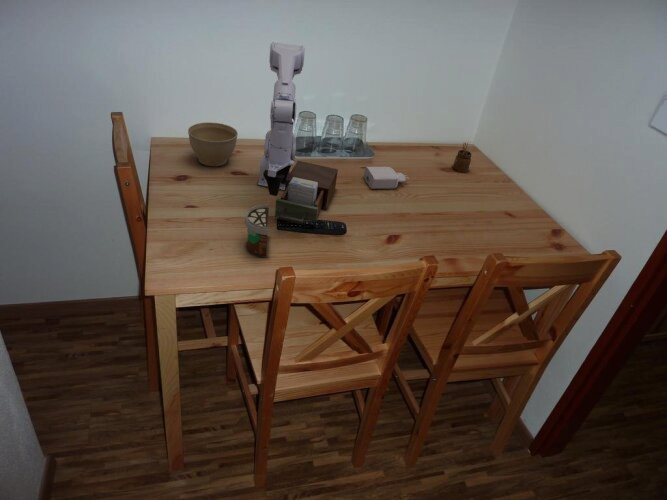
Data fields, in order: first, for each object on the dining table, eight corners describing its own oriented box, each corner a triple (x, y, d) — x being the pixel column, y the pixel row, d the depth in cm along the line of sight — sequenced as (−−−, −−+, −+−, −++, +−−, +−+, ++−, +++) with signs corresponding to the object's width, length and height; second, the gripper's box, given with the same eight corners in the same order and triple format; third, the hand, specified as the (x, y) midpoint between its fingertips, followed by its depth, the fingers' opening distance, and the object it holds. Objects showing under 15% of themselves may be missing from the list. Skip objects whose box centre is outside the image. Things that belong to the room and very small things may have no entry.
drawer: (310, 236, 144) (312, 219, 141) (268, 226, 145) (269, 209, 142) (325, 204, 160) (327, 188, 156) (287, 196, 161) (288, 180, 157)
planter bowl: (232, 174, 170) (233, 143, 164) (183, 168, 169) (182, 137, 163) (240, 154, 183) (241, 125, 177) (195, 148, 182) (194, 119, 176)
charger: (411, 189, 178) (371, 190, 174) (402, 177, 185) (363, 177, 181) (414, 177, 175) (374, 177, 171) (404, 165, 182) (365, 165, 178)
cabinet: (325, 210, 159) (328, 188, 154) (283, 201, 160) (285, 179, 156) (335, 189, 170) (338, 169, 166) (296, 181, 172) (297, 160, 167)
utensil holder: (469, 169, 198) (478, 140, 192) (464, 174, 194) (473, 145, 187) (455, 164, 201) (464, 135, 194) (450, 169, 196) (458, 140, 189)
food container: (245, 232, 143) (246, 202, 137) (267, 234, 143) (269, 203, 138) (242, 259, 133) (243, 226, 127) (266, 260, 133) (268, 228, 128)
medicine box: (315, 207, 155) (318, 181, 150) (311, 214, 152) (315, 188, 147) (290, 201, 156) (292, 176, 151) (286, 208, 152) (288, 182, 148)
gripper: (287, 157, 130) (283, 203, 138) (302, 137, 142) (297, 180, 150) (261, 152, 131) (258, 198, 139) (277, 132, 143) (274, 175, 150)
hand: (277, 188), depth 144 cm, fingers open, 7 cm apart
